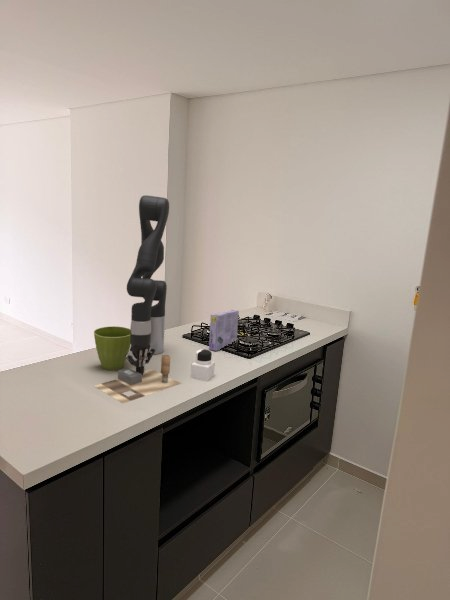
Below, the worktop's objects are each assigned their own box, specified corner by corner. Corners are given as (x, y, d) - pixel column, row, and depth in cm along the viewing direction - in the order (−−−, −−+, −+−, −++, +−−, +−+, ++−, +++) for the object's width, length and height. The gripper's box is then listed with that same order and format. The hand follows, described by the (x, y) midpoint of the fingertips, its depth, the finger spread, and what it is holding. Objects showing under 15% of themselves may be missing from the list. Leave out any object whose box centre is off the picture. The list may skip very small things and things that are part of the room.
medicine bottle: (213, 378, 166) (215, 349, 164) (207, 384, 160) (209, 355, 157) (197, 375, 168) (199, 346, 166) (190, 381, 162) (191, 351, 159)
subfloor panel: (93, 389, 148) (93, 385, 148) (151, 372, 167) (151, 369, 167) (122, 407, 137) (122, 403, 136) (181, 386, 156) (181, 383, 156)
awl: (158, 381, 156) (159, 356, 154) (165, 379, 158) (166, 354, 156) (164, 384, 154) (165, 358, 152) (170, 382, 156) (172, 356, 154)
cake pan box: (230, 341, 216) (232, 308, 212) (238, 343, 213) (241, 310, 210) (207, 349, 201) (209, 314, 197) (215, 352, 198) (218, 316, 194)
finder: (117, 378, 156) (118, 370, 155) (129, 375, 159) (129, 366, 159) (130, 385, 151) (130, 376, 150) (141, 381, 154) (142, 373, 154)
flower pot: (139, 371, 168) (140, 333, 165) (106, 379, 157) (107, 339, 154) (118, 360, 178) (119, 324, 175) (86, 368, 167) (86, 330, 164)
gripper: (148, 326, 161) (147, 368, 165) (119, 331, 151) (119, 376, 155) (161, 330, 157) (159, 373, 160) (132, 336, 147) (131, 382, 150)
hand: (139, 374), depth 158 cm, fingers closed
